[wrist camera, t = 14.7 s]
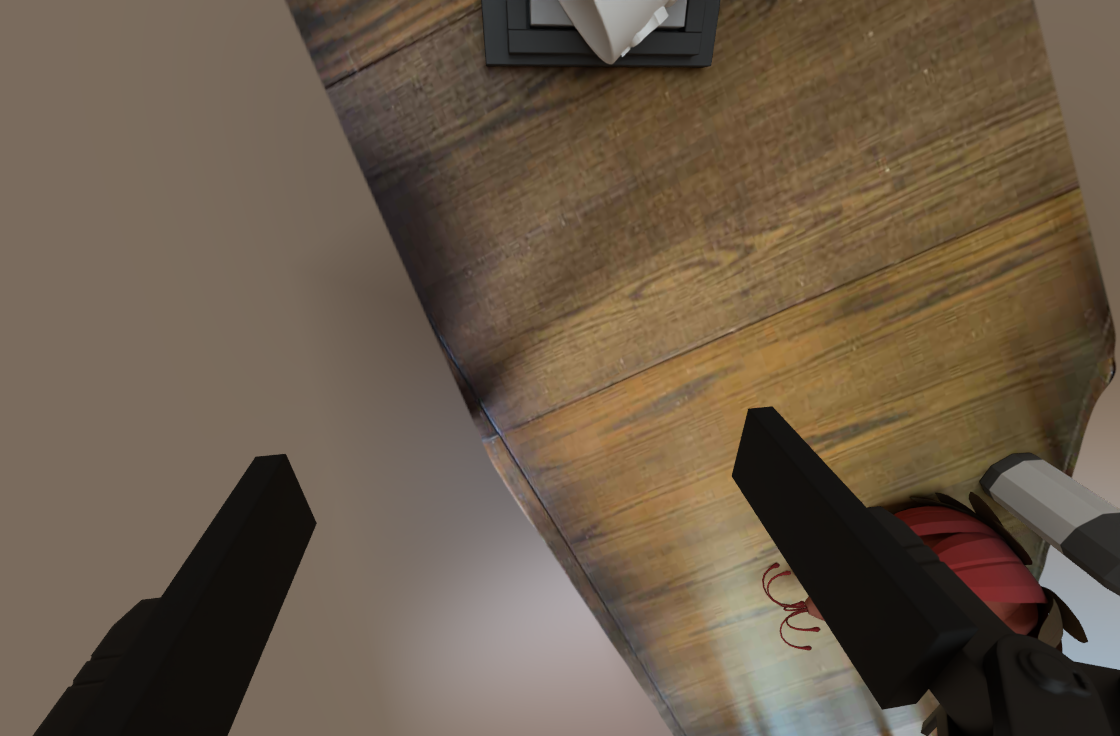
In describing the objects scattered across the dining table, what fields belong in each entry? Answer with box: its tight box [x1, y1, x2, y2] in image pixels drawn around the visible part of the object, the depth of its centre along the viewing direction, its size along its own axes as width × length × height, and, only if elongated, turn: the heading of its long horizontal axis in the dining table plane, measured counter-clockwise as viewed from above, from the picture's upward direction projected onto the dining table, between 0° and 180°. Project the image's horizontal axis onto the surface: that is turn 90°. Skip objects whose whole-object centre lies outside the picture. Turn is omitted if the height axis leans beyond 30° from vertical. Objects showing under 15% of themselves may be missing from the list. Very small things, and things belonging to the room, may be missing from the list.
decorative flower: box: [762, 492, 1088, 653], centre depth 59 cm, size 22×23×30 cm
